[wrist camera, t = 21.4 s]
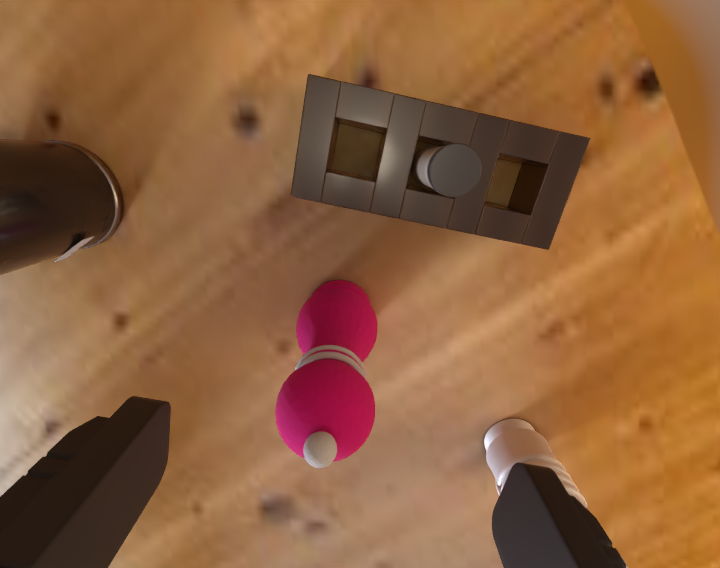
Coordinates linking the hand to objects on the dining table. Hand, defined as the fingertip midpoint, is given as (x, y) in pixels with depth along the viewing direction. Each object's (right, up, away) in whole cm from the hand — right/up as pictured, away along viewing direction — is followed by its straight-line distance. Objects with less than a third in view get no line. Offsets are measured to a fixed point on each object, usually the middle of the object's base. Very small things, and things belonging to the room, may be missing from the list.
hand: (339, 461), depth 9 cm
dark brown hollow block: (+6, +15, +25) cm, 29 cm away
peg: (+6, +15, +25) cm, 29 cm away
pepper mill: (-2, +2, +29) cm, 29 cm away
